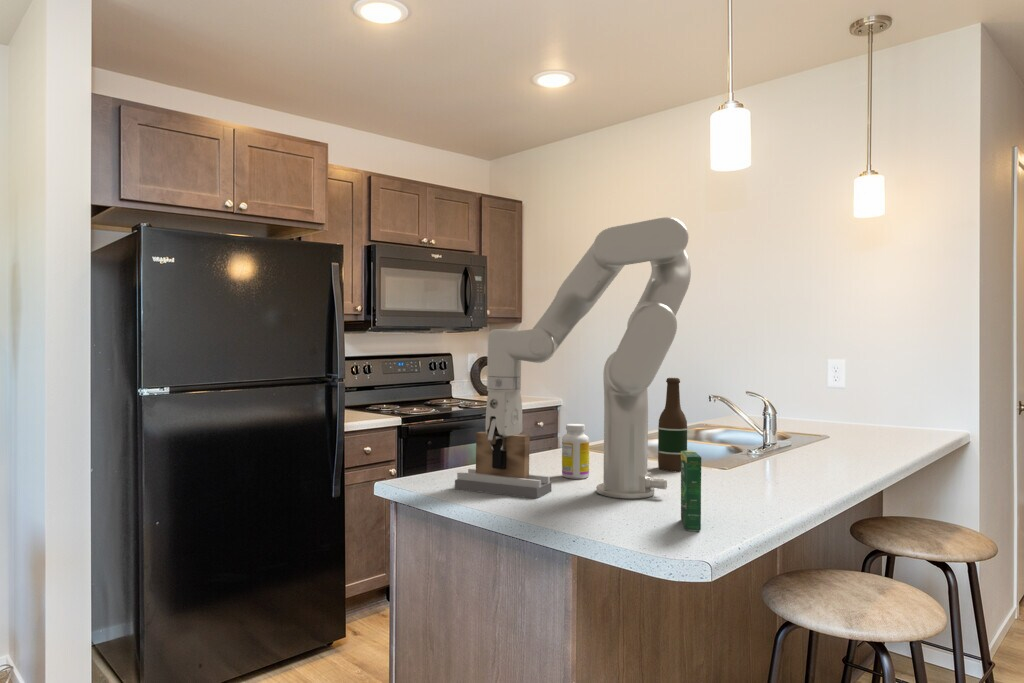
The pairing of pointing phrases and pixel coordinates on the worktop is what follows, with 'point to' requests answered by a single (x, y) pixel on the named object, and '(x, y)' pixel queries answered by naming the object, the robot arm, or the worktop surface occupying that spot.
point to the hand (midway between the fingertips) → (502, 466)
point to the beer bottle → (672, 430)
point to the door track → (504, 484)
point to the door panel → (515, 455)
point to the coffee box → (691, 490)
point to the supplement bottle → (575, 452)
